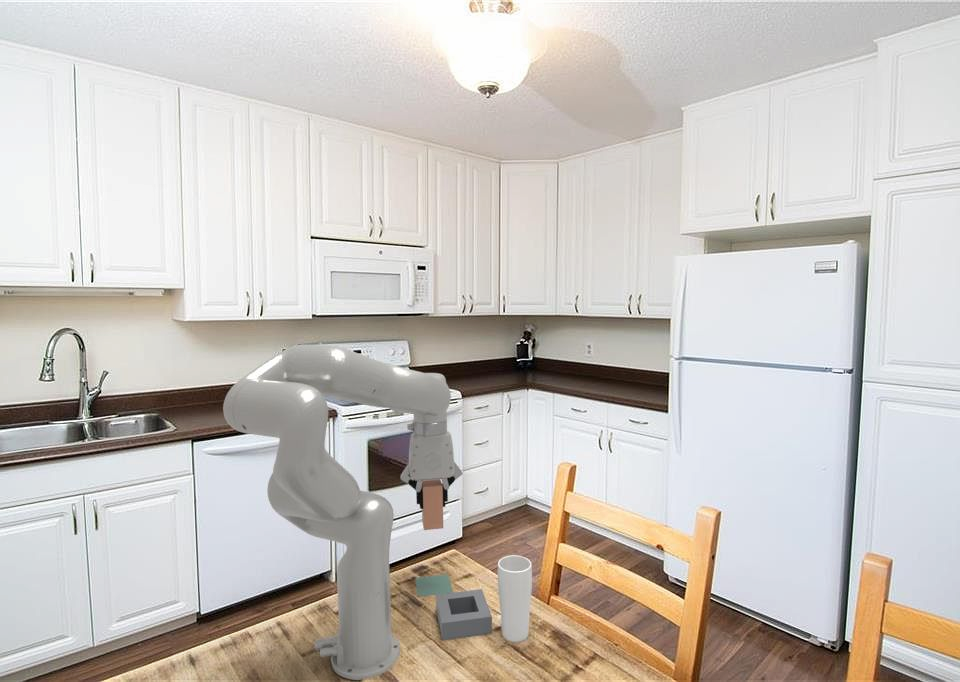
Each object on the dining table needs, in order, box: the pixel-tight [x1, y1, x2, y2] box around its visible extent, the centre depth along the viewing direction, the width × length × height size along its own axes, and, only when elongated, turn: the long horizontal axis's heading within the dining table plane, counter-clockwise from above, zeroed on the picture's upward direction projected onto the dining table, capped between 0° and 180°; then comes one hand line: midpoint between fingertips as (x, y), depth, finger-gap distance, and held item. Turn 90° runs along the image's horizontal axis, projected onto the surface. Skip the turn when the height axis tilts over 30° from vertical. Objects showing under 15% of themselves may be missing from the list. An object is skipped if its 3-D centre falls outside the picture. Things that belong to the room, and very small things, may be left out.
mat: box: [415, 573, 454, 598], centre depth 121 cm, size 8×8×1 cm
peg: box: [421, 479, 444, 531], centre depth 120 cm, size 4×4×10 cm
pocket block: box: [435, 588, 493, 641], centre depth 108 cm, size 10×10×4 cm
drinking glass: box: [497, 554, 533, 643], centre depth 103 cm, size 7×7×15 cm
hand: (432, 504), depth 120 cm, fingers closed on peg, 4 cm apart
